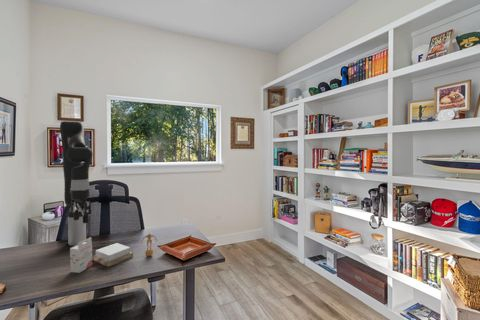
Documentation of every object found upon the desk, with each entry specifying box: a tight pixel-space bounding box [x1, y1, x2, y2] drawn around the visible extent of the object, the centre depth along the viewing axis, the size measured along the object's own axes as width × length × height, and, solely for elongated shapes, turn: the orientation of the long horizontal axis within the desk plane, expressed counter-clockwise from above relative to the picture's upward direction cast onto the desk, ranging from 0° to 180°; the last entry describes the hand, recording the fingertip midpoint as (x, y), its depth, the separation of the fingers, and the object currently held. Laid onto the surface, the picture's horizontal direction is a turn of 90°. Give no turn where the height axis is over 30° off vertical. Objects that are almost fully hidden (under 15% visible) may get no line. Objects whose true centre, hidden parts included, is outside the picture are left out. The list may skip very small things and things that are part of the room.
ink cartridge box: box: [69, 236, 93, 274], centre depth 122 cm, size 9×5×15 cm, turn 168°
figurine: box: [140, 233, 158, 257], centre depth 138 cm, size 8×6×12 cm
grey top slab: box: [95, 242, 131, 261], centre depth 134 cm, size 12×12×3 cm
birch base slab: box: [92, 251, 134, 267], centre depth 134 cm, size 14×14×3 cm
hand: (80, 221), depth 121 cm, fingers open, 8 cm apart
